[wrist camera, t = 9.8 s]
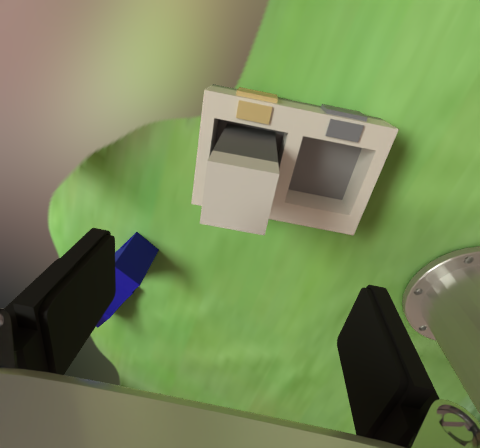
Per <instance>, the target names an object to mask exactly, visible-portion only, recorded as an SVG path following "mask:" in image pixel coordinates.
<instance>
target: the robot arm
mask: <svg viewBox="0 0 480 448" xmlns="http://www.w3.org/2000/svg"><path fill="white" fill-rule="evenodd" d="M115 293H116V276H115V238H114V236H111V234H110V232H109V231H106V230H101V229H97V228H92V229H91V230H90V231H89V232H88V233H86V234H85V235H84V236H83V237H82V238H81V239H80V240H79V241H78V242H77V243H76V244H75V245H74V246H73V247H72V248H71V249H70V250H69V251H67V252H66V253H65V254H64V255H63V256H62V257H61V258H59V259H57V260H56V261H55V262H54V263H52V264H51V265H50V266H49V267H48V268H47V269H46V270H45V271H44V272H43V273H42V274H41V275H40V276H39V277H38V278H36V279H35V280H34V281H33V282H32V283H31V284H30V285H29V286H28V287H27V288H26V289H25V290H24V291H23V292H22V293H20V295H18V296H17V297H16V298H15V299H14V300H13V301H12V302H11V303H10V304H9V305H8V306H7V307H6V308H4V309H1V308H0V448H480V423H479V421H478V420H477V419H476V418H475V417H474V416H473V415H472V414H471V413H470V412H468V411H467V410H466V409H465V408H463V407H462V406H460V405H458V404H457V403H454V402H452V401H449V400H444V399H439V397H438V395H437V393H436V391H435V389H434V387H433V384H432V382H431V380H430V378H429V376H428V374H427V372H426V370H425V368H424V366H423V364H422V362H421V360H420V357H419V355H418V353H417V351H416V349H415V347H414V345H413V343H412V341H411V339H410V337H409V335H408V333H407V331H406V329H405V326H404V324H403V322H402V320H401V318H400V316H399V314H398V312H397V310H396V308H395V306H394V304H393V301H392V299H391V297H390V295H389V293H388V291H387V289H386V288H383V287H378V286H373V285H368V286H367V287H366V288H362V289H361V291H360V293H359V295H358V297H357V299H356V301H355V303H354V305H353V307H352V309H351V311H350V313H349V316H348V318H347V320H346V322H345V324H344V326H343V328H342V330H341V332H340V334H339V336H338V340H337V347H338V352H339V356H340V361H341V366H342V370H343V375H344V379H345V384H346V389H347V393H348V398H349V403H350V407H351V412H352V416H353V421H354V426H355V430H356V435H354V434H349V433H345V432H341V431H336V430H332V429H327V428H322V427H317V426H313V425H308V424H303V423H299V422H294V421H289V420H284V419H280V418H275V417H270V416H265V415H261V414H256V413H251V412H246V411H241V410H236V409H232V408H227V407H222V406H217V405H212V404H207V403H202V402H198V401H193V400H188V399H183V398H178V397H173V396H168V395H163V394H158V393H153V392H148V391H143V390H138V389H133V388H128V387H123V386H118V385H113V384H108V383H103V382H98V381H93V380H87V379H82V378H76V377H71V376H65V375H64V374H65V372H66V370H67V369H68V367H69V366H70V364H71V363H72V361H73V360H74V358H75V357H76V355H77V354H78V352H79V351H80V349H81V348H82V346H83V345H84V343H85V342H86V340H87V339H88V337H89V336H90V334H91V333H92V331H93V330H94V328H95V327H96V325H97V324H98V322H99V321H100V319H101V318H102V316H103V314H104V313H105V311H106V310H107V308H108V307H109V305H110V304H111V302H112V301H113V299H114V297H115ZM402 306H403V312H404V314H405V316H406V318H407V320H408V322H409V323H410V325H411V327H412V328H413V329H414V330H415V331H417V332H418V333H420V334H421V335H423V336H425V337H427V338H430V339H433V340H437V342H438V344H439V346H440V347H441V349H442V351H443V352H444V354H445V356H446V358H447V359H448V361H449V363H450V364H451V366H452V368H453V369H454V371H455V373H456V375H457V376H458V378H459V380H460V381H461V383H462V385H463V387H464V388H465V390H466V392H467V393H468V395H469V397H470V399H471V400H472V402H473V404H474V405H475V407H476V409H477V411H478V412H479V414H480V246H478V247H470V248H464V249H460V250H456V251H453V252H450V253H448V254H445V255H443V256H440V257H439V258H437V259H435V260H433V261H431V262H430V263H428V264H427V265H426V266H424V267H423V268H422V269H421V270H419V271H418V272H417V273H416V275H415V276H414V277H413V278H412V279H411V280H410V282H409V284H408V285H407V287H406V289H405V292H404V294H403V300H402Z"/></svg>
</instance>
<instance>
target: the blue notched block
mask: <svg viewBox="0 0 480 448" xmlns="http://www.w3.org/2000/svg"><path fill="white" fill-rule="evenodd" d="M157 252H158V249H157V248H156V247H155V246H154V245H152V244H151V243H150V242H149V241H147V240H146V239H145V238H144V237H143V236H141V235H140V234H139V233H138V232H136V233H135V234H134V235H133V236H132V237H131V238H130V239H129V240H128V241H127V242H126V243H125V244H124V245H123V246H122V247H121V248H120V249H119V250H118V251H116V252H115V276H116V293H115V297H114V299H113V301H112V302H111V304H110V305H109V307H108V308H107V310H106V311H105V313H104V314H103V316H102V318H101V319H100V321H99V322H98V324H97V325H96V327H99V326H100V325H102V324H103V323H104V322H105V321H107V320H108V319H109V318H110V317H111V316H112V315H113V314H114V312H115V311H116V310H117V309H118V308H119V307H120V306H121V304H122V303H123V302H124V301H125V300H126V299H127V298H128V297H129V296H131V295H132V294H133V292H134V290H135V289H136V288H137V287H138V286H140V284H141V282H142V280H143V278H144V277H145V275H146V273H147V271H148V269H149V267H150V265H151V263H152V262H153V260H154V258H155V256H156V254H157Z"/></svg>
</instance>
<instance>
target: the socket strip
mask: <svg viewBox="0 0 480 448" xmlns="http://www.w3.org/2000/svg"><path fill="white" fill-rule="evenodd" d="M227 123H230V124H235V125H240V126H246V127H251V128H256V129H262V130H267V131H272V132H275V136H276V146H277V155H278V165H279V178H278V182H277V186H276V190H275V194H274V199H273V203H272V207H271V211H270V215H269V219H272V220H277V221H283V222H288V223H293V224H298V225H303V226H308V227H313V228H318V229H324V230H329V231H334V232H339V233H344V234H349V235H354V233H355V231H356V228H357V226H358V224H359V221H360V219H361V217H362V214H363V212H364V210H365V207H366V205H367V203H368V200H369V198H370V196H371V193H372V191H373V189H374V186H375V184H376V182H377V179H378V177H379V175H380V172H381V170H382V168H383V165H384V163H385V161H386V158H387V156H388V153H389V151H390V149H391V146H392V144H393V142H394V139H395V137H396V135H397V132H398V130H399V129H397V128H396V127H394V126H392V125H391V124H389V123H387V122H386V121H384V120H382V119H381V118H376V117H371V116H366V115H364V114H362V113H361V112H359V111H354V110H349V109H344V108H340V107H335V106H330V105H325V104H322V105H321V106H317V105H312V104H307V103H302V102H297V101H292V100H288V99H283V98H278V97H277V95H276V94H271V93H266V92H261V91H256V90H251V89H246V88H241V87H239V88H238V89H234V88H229V87H224V86H219V85H214V84H213V85H211V86H210V87H208V88H206V89H205V90H204V98H203V107H202V115H201V124H200V133H199V142H198V151H197V160H196V168H195V177H194V186H193V195H192V204H195V205H200V206H202V202H203V193H204V185H205V176H206V168H207V160H208V159H209V157H210V155H211V153H212V151H213V149H214V147H215V145H216V144H217V142H218V140H219V138H220V136H221V134H222V132H223V131H224V129H225V127H226V125H227Z"/></svg>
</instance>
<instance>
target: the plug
mask: <svg viewBox="0 0 480 448" xmlns="http://www.w3.org/2000/svg"><path fill="white" fill-rule="evenodd" d="M278 178H279V165H278V155H277V146H276V136H275V132H272V131H267V130H262V129H256V128H251V127H246V126H240V125H235V124H230V123H227V125H226V127H225V129H224V131H223V132H222V134H221V136H220V138H219V140H218V142H217V144H216V145H215V147H214V149H213V151H212V153H211V155H210V157H209V159H208V160H207V168H206V176H205V185H204V193H203V202H202V210H201V219H200V224H205V225H211V226H216V227H222V228H227V229H233V230H238V231H243V232H249V233H254V234H260V235H265V231H266V227H267V223H268V219H269V215H270V211H271V207H272V203H273V199H274V194H275V190H276V186H277V182H278Z"/></svg>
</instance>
